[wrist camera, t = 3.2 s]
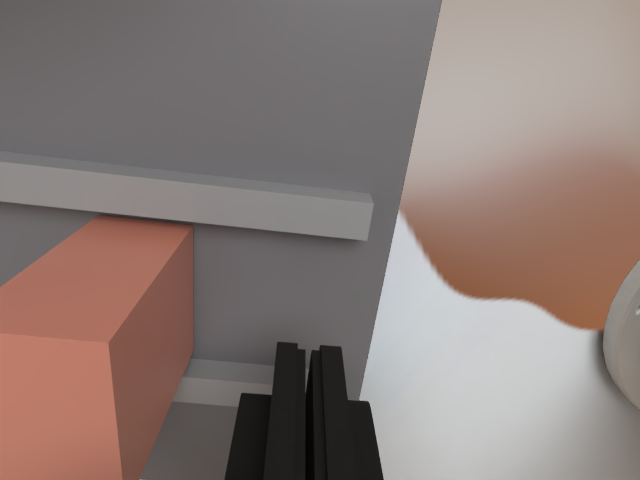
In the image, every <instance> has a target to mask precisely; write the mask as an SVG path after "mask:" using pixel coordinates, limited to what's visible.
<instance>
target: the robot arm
mask: <svg viewBox="0 0 640 480" xmlns="http://www.w3.org/2000/svg"><path fill="white" fill-rule="evenodd" d="M603 352H604V358H605V363H606V367H607V369H608V371H609V373H610V375H611V377H612V379H613V381H614V383H615V384H616V386H617V387H618V388H619V389H620V390H621V391H622V392H623V394H624V395H625V396H626V397H627V398H628V399H629V401H630V402H631V403H632V404H633V405H634V406H636V407H637V408H638V409H639V410H640V259H639V261H638V262H637V263H636V265H635V266H634V267H633V269H632V270H631V271H630V272H629V274H628V275H627V276H626V278H625V279H624V281H623V283H622V284H621V286H620V288H619V290H618V292H617V294H616V296H615V298H614V300H613V301H612V303H611V306H610V309H609V313H608V316H607V320H606V322H605V326H604V336H603ZM305 388H306V393H305ZM224 480H384V479H383V473H382V468H381V462H380V457H379V451H378V446H377V440H376V435H375V429H374V424H373V418H372V413H371V408H370V404H369V402H368V401H355V400H348V397H347V388H346V380H345V372H344V363H343V355H342V348H341V346H328V345H320V347H319V350H312V351H311V357H310V364H309V372H308V379H307V386H306V350H305V349H298V343H290V342H277V348H276V358H275V368H274V378H273V388H272V395H268V394H254V393H241V396H240V401H239V406H238V411H237V416H236V421H235V427H234V432H233V437H232V442H231V447H230V453H229V458H228V463H227V468H226V473H225V479H224Z"/></svg>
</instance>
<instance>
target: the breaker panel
mask: <svg viewBox="0 0 640 480" xmlns="http://www.w3.org/2000/svg"><path fill="white" fill-rule="evenodd" d="M441 3H442V0H0V287H1V286H2V285H4V284H5V283H6V282H8V281H9V280H11V279H12V278H13V277H15V276H16V275H17V274H19V273H20V272H21V271H23V270H24V269H26V268H27V267H28V266H30V265H31V264H32V263H34V262H35V261H36V260H38V259H39V258H41V257H42V256H43V255H45V254H46V253H47V252H49V251H50V250H51V249H53V248H54V247H56V246H57V245H58V244H60V243H61V242H62V241H64V240H65V239H66V238H68V237H69V236H71V235H72V234H73V233H75V232H76V231H77V230H79V229H80V228H81V227H83V226H84V225H86V224H87V223H88V222H90V221H91V220H92V219H94V218H95V217H96V216H98V215H101V216H110V217H119V218H129V219H138V220H147V221H157V222H166V223H175V224H185V225H193V297H194V350H193V352H192V355H191V357H190V360H189V362H188V364H187V367H186V369H185V372H184V374H183V376H182V379H181V381H180V384H179V386H178V388H177V391H176V393H175V396H174V398H173V400H172V403H171V405H170V408H169V410H168V412H167V415H166V417H165V420H164V422H163V424H162V427H161V429H160V432H159V434H158V436H157V439H156V441H155V444H154V446H153V448H152V451H151V453H150V456H149V458H148V460H147V463H146V465H145V468H144V470H143V472H142V475H141V477H140V479H142V480H224V479H225V473H226V468H227V463H228V458H229V453H230V447H231V442H232V437H233V432H234V427H235V421H236V416H237V411H238V406H239V401H240V396H241V393H254V394H268V395H272V388H273V378H274V368H275V358H276V348H277V342H290V343H298V349H305V350H306V386H307V379H308V372H309V364H310V357H311V351H312V350H319V347H320V345H328V346H341V348H342V355H343V363H344V372H345V380H346V388H347V397H348V400H355V401H359V396H360V391H361V387H362V382H363V377H364V372H365V368H366V363H367V358H368V353H369V348H370V344H371V339H372V334H373V329H374V324H375V320H376V315H377V310H378V305H379V300H380V296H381V291H382V286H383V281H384V276H385V272H386V267H387V262H388V257H389V252H390V248H391V243H392V238H393V233H394V228H395V224H396V219H397V214H398V209H399V204H400V200H401V194H402V190H403V185H404V180H405V175H406V171H407V166H408V161H409V156H410V151H411V147H412V142H413V137H414V132H415V128H416V123H417V118H418V113H419V108H420V104H421V99H422V94H423V89H424V85H425V80H426V75H427V70H428V65H429V61H430V56H431V51H432V46H433V41H434V37H435V31H436V27H437V22H438V17H439V12H440V7H441ZM305 393H306V388H305Z"/></svg>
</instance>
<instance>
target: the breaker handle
mask: <svg viewBox="0 0 640 480" xmlns="http://www.w3.org/2000/svg"><path fill="white" fill-rule="evenodd" d="M193 350H194V297H193V225H185V224H175V223H166V222H157V221H147V220H138V219H129V218H119V217H110V216H101V215H98V216H96V217H95V218H94V219H92V220H91V221H90V222H88V223H87V224H86V225H84V226H83V227H81V228H80V229H79V230H77V231H76V232H75V233H73V234H72V235H71V236H69V237H68V238H66V239H65V240H64V241H62V242H61V243H60V244H58V245H57V246H56V247H54V248H53V249H51V250H50V251H49V252H47V253H46V254H45V255H43V256H42V257H41V258H39V259H38V260H36V261H35V262H34V263H32V264H31V265H30V266H28V267H27V268H26V269H24V270H23V271H21V272H20V273H19V274H17V275H16V276H15V277H13V278H12V279H11V280H9V281H8V282H6V283H5V284H4V285H2V286H1V287H0V480H140V477H141V475H142V472H143V470H144V468H145V465H146V463H147V460H148V458H149V456H150V453H151V451H152V448H153V446H154V444H155V441H156V439H157V436H158V434H159V432H160V429H161V427H162V424H163V422H164V420H165V417H166V415H167V412H168V410H169V408H170V405H171V403H172V400H173V398H174V396H175V393H176V391H177V388H178V386H179V384H180V381H181V379H182V376H183V374H184V372H185V369H186V367H187V364H188V362H189V360H190V357H191V355H192V352H193Z"/></svg>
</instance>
